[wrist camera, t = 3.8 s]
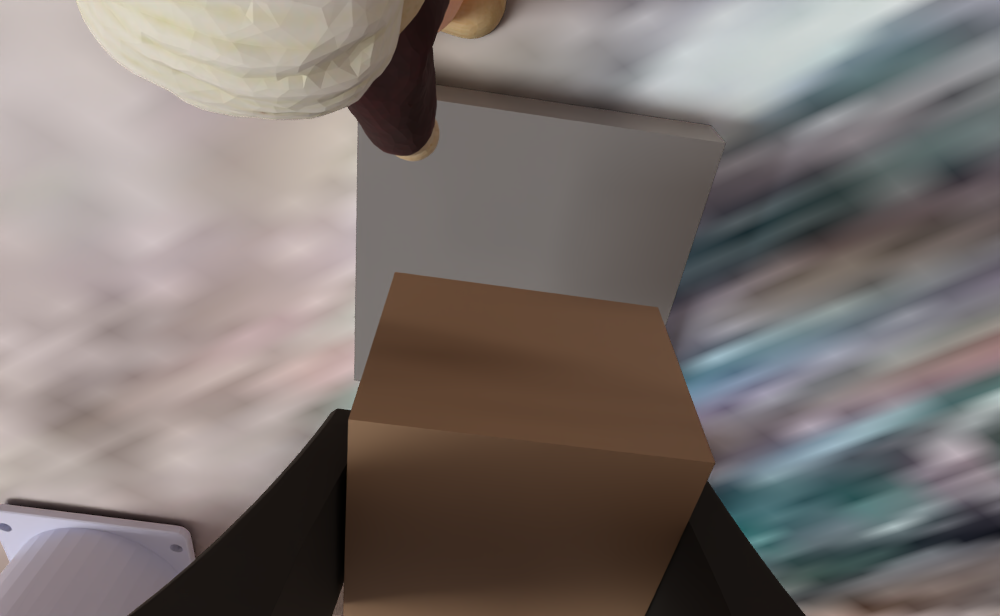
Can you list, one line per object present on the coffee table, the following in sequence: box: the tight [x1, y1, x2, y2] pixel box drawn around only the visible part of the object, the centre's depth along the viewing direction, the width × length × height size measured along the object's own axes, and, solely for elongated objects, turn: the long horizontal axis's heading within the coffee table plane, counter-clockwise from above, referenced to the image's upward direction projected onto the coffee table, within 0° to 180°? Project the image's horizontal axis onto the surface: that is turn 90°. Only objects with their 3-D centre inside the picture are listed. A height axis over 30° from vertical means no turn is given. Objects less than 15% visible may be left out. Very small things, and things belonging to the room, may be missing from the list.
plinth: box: [354, 85, 726, 381], centre depth 18 cm, size 9×9×2 cm
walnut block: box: [343, 272, 715, 616], centre depth 12 cm, size 5×5×4 cm
